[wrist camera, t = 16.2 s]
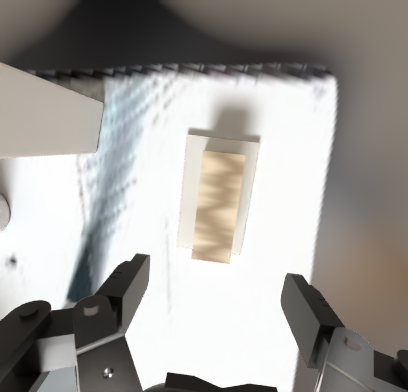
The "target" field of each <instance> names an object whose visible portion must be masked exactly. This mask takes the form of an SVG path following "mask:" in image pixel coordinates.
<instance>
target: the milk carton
mask: <svg viewBox="0 0 408 392" xmlns="http://www.w3.org/2000/svg"><path fill="white" fill-rule="evenodd" d="M103 107H104V104H103V103H102V102H100V101H98V100H95V99H93V98H90V97H87V96H85V95H82V94H80V93H77V92H75V91H72V90H70V89H67V88H64V87H62V86H59V85H57V84H54V83H52V82H49V81H47V80H44V79H41V78H39V77H36V76H34V75H31V74H29V73H26V72H24V71H21V70H19V69H16V68H13V67H11V66H8V65H6V64H3V63H1V62H0V158H15V157H33V156H52V155H70V154H88V153H96V150H97V144H98V138H99V132H100V126H101V119H102V113H103Z"/></svg>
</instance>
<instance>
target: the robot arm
mask: <svg viewBox="0 0 408 392" xmlns="http://www.w3.org/2000/svg"><path fill="white" fill-rule="evenodd" d="M8 221H9V208H8V204H7V202H6V200H5V198H4V197H3V195H2V194H1V193H0V232H1V231H2V230H3V229H4V228H5V227H6V226H7V224H8ZM149 268H150V255H146V254H138V253H137V254H136V255H135V256H134V257H133V259H132V260H131V261H125V262H123V263H121V264H120V265H118V266H117V267H116V269H115V270H114V271H113V273H112V274H111V275H110V276H109V278H108V279H107V280H106V281H105V282H104V283H103V285H102V286H101V287H100V288H99V290H98V291H97V292H96V293H95V295H92V296H88V297H86V298H84V299H82V300H80V301H79V302H78V303H77V304H76V305H75V306H74V308H70V309H61V310H53V311H51V305H50V303H49V302H47V301H43V300H38V301H32V302H28V303H25V304H23V305H21V306H19V307H17V308H15V309H14V310H12V311H11V312H10V313H9V314H8V315H7V316H5V317H4V318H3V319H2V320H1V321H0V392H37V390H38V389H39V387H40V386H41V384H42V383H43V381H44V380H45V378H46V377H47V375H48V374H49V372H50V371H51V370H56V369H61V368H66V367H71V366H75V376H76V389H77V392H277V388H276V387H270V386H263V385H255V384H245V385H239V386H233V387H227V388H220V387H218V386H216V385H213V384H211V383H209V382H206V381H204V380H202V379H200V378H197V377H195V376H191V375H183V374H176V373H169V372H167V377H166V382H165V383H161V384H158V385H154V386H152V387H150V388H148V389H146V390H144V391H143V390H142V387H141V384H140V381H139V378H138V374H137V371H136V368H135V365H134V362H133V359H132V356H131V353H130V350H129V347H128V344H127V341H126V338H125V333H126V331H127V329H128V327H129V325H130V323H131V321H132V319H133V316H134V314H135V312H136V310H137V308H138V306H139V304H140V302H141V300H142V297H143V295H144V293H145V291H146V289H147V286H148V281H149ZM281 306H282V309H283V312H284V314H285V316H286V319H287V321H288V324H289V326H290V328H291V331H292V333H293V335H294V338H295V340H296V343H297V345H298V347H299V350H300V352H301V354H302V357H303V359H304V362H305V364H306V366H307V368H315V369H318V371H319V373H320V374H319V377H318V380H317V384H316V387H315V391H314V392H408V350H399V351H398V352H397V354H396V356H395V358H393V357H391V356H387V355H385V354H382V353H380V352H377V351H375V350H373V348H372V347H371V345H370V344H369V343H368V341H367V340H366V339H364V338H363V337H362V336H361V335H359V334H358V333H356V332H354V331H352V330H350V329H348V328H346V327H345V326H344V325H343V323H342V322H341V321H340V319H339V318H338V316H337V315H336V314H335V312H334V311H333V310H332V308H331V307H330V306H329V304H328V303H327V302H326V301H325V299H324V297H323V296H322V294H321V293H320V292H319V291H318V290H317V289H315V288H314V287H313V286H312V285H309V284H308V283H307V281H306V280H305V278H304V277H303V276H302V275H299V274H291V273H287V275H286V277H285V281H284V286H283V290H282V294H281Z"/></svg>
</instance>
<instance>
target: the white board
mask: <svg viewBox="0 0 408 392" xmlns="http://www.w3.org/2000/svg"><path fill="white" fill-rule="evenodd" d="M259 144H260V143H256V142H247V141H239V140H230V139H222V138H213V137H204V136H196V135H187V139H186V150H185V161H184V172H183V183H182V194H181V205H180V216H179V227H178V238H177V247H183V248H190V249H193V239H194V230H195V220H196V211H197V201H198V191H199V182H200V172H201V163H202V153H203V150H211V151H220V152H229V153H238V154H243V155H246V159H245V165H244V172H243V178H242V185H241V191H240V198H239V204H238V211H237V217H236V224H235V230H234V237H233V243H232V250H231V254H236V255H240V253H241V248H242V242H243V236H244V230H245V225H246V219H247V213H248V207H249V202H250V196H251V190H252V184H253V179H254V173H255V167H256V161H257V156H258V150H259Z"/></svg>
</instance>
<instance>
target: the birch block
mask: <svg viewBox="0 0 408 392" xmlns="http://www.w3.org/2000/svg"><path fill="white" fill-rule="evenodd" d="M245 159H246V155H243V154H238V153H229V152H220V151H211V150H203V153H202V163H201V172H200V182H199V191H198V201H197V211H196V220H195V230H194V239H193V249H192V258H191V259H196V260H204V261H212V262H220V263H228V264H229V262H230V256H231V250H232V243H233V237H234V230H235V224H236V217H237V211H238V204H239V198H240V191H241V185H242V178H243V172H244V165H245Z"/></svg>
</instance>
